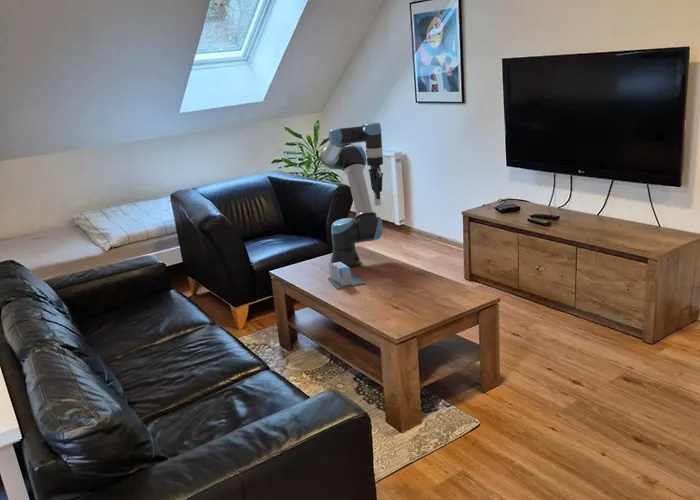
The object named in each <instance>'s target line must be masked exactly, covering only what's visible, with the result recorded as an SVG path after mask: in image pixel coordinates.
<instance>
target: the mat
mask: <svg viewBox="0 0 700 500" xmlns="http://www.w3.org/2000/svg"><path fill="white" fill-rule="evenodd" d="M326 278H327V280H328V281H329V282H330V283H331V284H332V285H333V287H334V288H335V289H336V290H341V289H346V288H351V287H352V288H353V287H357V286H362V285H366V282H365V281H364V280H362V278H361V277H360V276H358V275H357V274H356V273H355V272H351V280H352V284H351V285H347V286H342V285H340V284H339V283H338V282H336V281H335V280H333V279H332V278H331V277H330V276H329V277H326Z"/></svg>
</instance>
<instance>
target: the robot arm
mask: <svg viewBox="0 0 700 500" xmlns="http://www.w3.org/2000/svg"><path fill="white" fill-rule="evenodd" d="M356 143H357V145H354V144H356ZM358 143H365V150H364V148H363V146H362V145H359V144H358ZM347 144H348V145H347ZM349 144H351V145H349ZM346 145H347V146H346ZM382 145H383V143H382V127H381V124H380V122H367V123H365V124H362V125H360V126H352V127H343V128H342V127H341V128H340V127H339V128H334V129H330V130H329V132H328V143H327V146H326V147H324V148H323V149H322V151H321V152H320V155H319V156H320V157H319V158H320V162H321V163H322V165H324V167H327V168H328V169H331V170H342V171H343V174H345V175H347V179H348V184H349V188H350V193H351V196H352V200H353V206H354V210H355V217H354V218H352V217H345V218H341V219H337V220H335V221H333V222H332V224H331V226H330V227H331V230H330V231H331V232H330V233H331V241H332V242H331V243H332V254H331V258H330V263H331V264H332V263H336V262H341V263H343V264H345V265H346V266H348V267H350V268H355V267H357V266H359V264H360V263H361V262H360V256H359V254H358V251H357V249H356V244H358V243H364V242H374V241H376V240H380V239H381V237H382V236H383V220H382V218H381V217H380V216H377V213H376V212H375V211H373V208H372V207H373V206H372V204H371V200H370V195H369V191H368V186H367V184H366V179H365V174H364V170H365V169H366V168H365V167H366V166H368V167H370V169H368V173H369V180H370V187H371V190H372V191H373V200H374V206H375V207H377V206H382V203H381V202H382V201H381V197H382V196H381V192H382V191H383V175H384V173H383V172H382V169H381V165H383V164H384V158H383V153H384V152H383V146H382Z"/></svg>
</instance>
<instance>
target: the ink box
mask: <svg viewBox="0 0 700 500" xmlns="http://www.w3.org/2000/svg"><path fill="white" fill-rule="evenodd" d="M328 265H329V267H328V268H329V277H331V278H332V279H333V280H335V281H336V282H338V283H339V284H340V285H342V286H347V285H351V284H352V280H351V273H352V270H351V268H352V267H348V266H346V265H345V264H343V263H341V262H336V263H332V264H331V261H329V262H328Z"/></svg>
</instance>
